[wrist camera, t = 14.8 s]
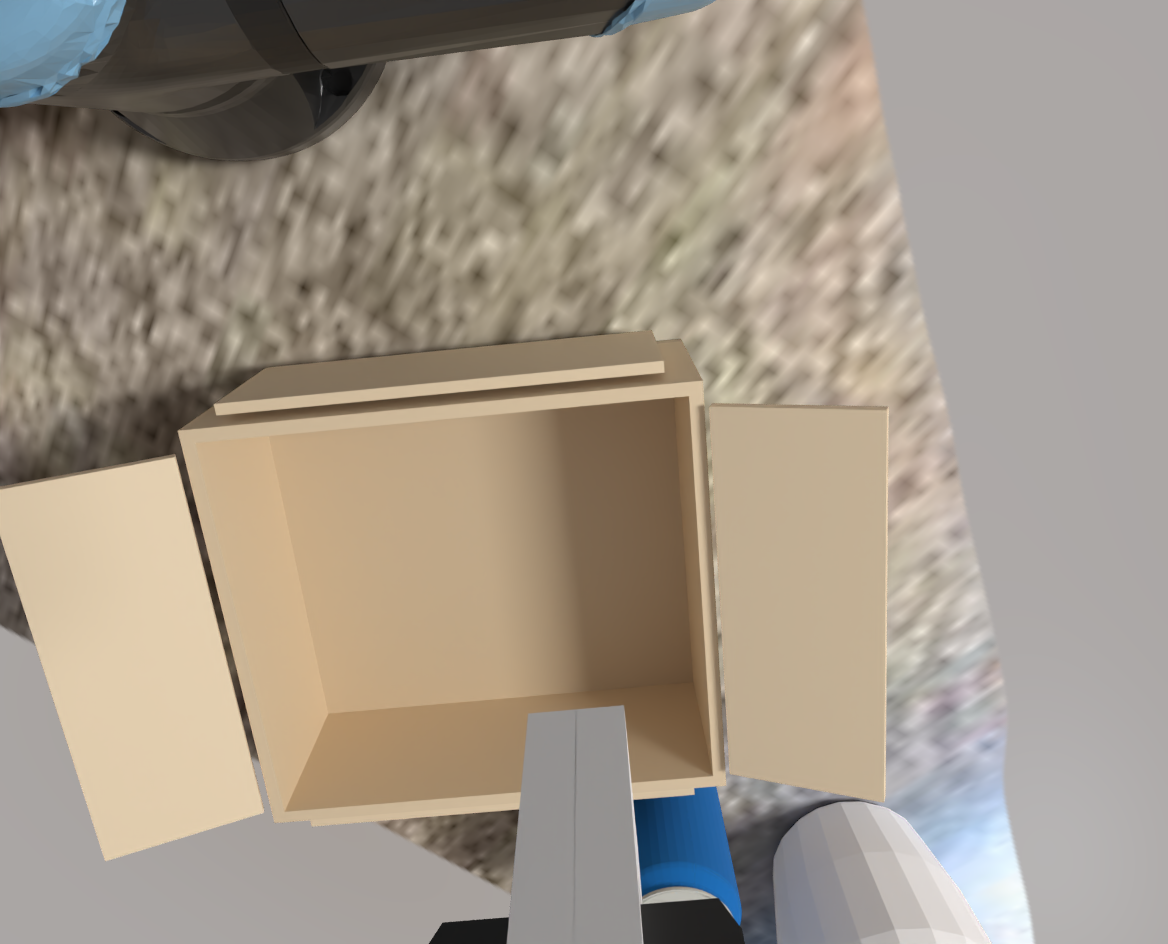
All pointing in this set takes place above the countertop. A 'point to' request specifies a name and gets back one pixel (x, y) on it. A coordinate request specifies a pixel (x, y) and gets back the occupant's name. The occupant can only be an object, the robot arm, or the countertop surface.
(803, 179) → the countertop surface
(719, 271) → the countertop surface
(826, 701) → the flap
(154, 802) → the flap
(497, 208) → the countertop surface
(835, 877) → the bottle
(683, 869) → the beverage can
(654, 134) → the countertop surface
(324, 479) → the carton
